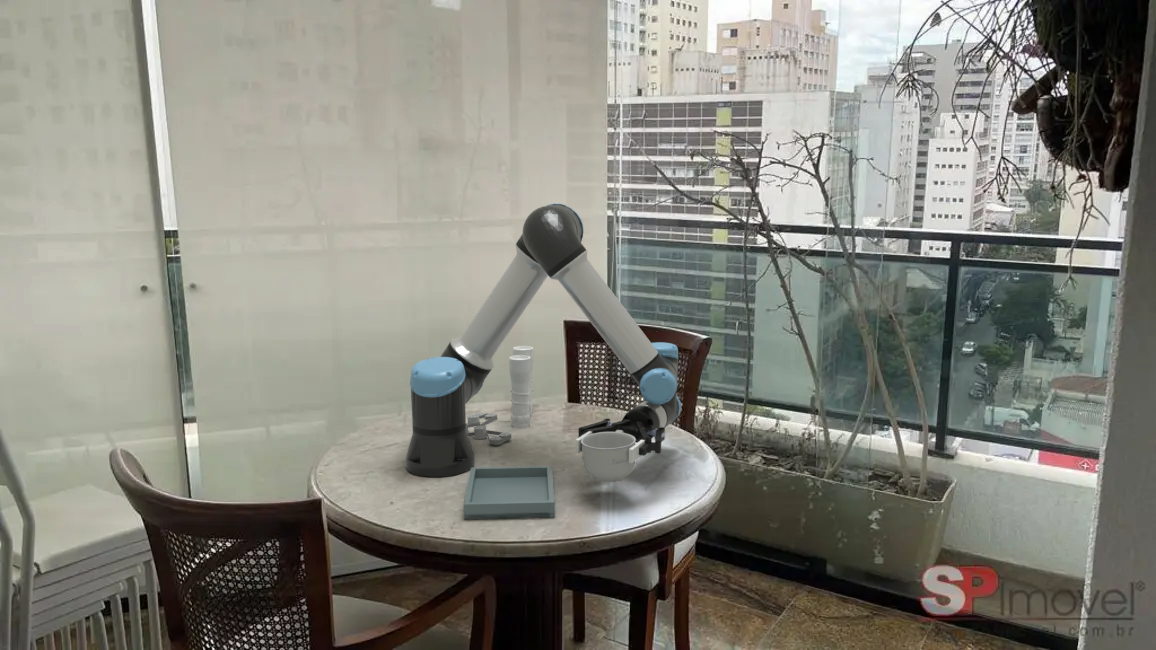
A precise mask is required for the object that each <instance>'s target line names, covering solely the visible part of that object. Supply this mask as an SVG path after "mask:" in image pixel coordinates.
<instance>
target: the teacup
mask: <svg viewBox="0 0 1156 650" xmlns="http://www.w3.org/2000/svg"><path fill="white" fill-rule="evenodd" d="M581 444H582V451H581V454H582V455H581V456H582V457H581V458H582V464H583V468H584V470H585V472H586V474H587V475H589V476H590V477H592V479H594V480H596V481H597V482H598V481H599V482H605V483H606V482H607V483H612V482H613V483H614V482H619V481H622V480H624V479H626V478H627V477H628V476H629V475H630V474H631V473H632V472H633V471H634V469H635V467H636V466H635V465H636V460H635V461H634V462H633V463H629V449H630V448H631V447H632V446H634V445H635V444H636V439H635V437H634V436H632V435H630V434H626V433H624V432H623V431H622V430H617V431H615V432H599V433H593V434H590V435H587V436H585V437H583V438H582V439H581Z"/></svg>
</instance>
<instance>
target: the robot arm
mask: <svg viewBox="0 0 1156 650" xmlns="http://www.w3.org/2000/svg"><path fill="white" fill-rule="evenodd" d="M583 237H584V224H583V221H582V218H581V217H580V215H579V214H578V212H577V211H576V210H574V209H573V208H572V207H570V206H567V204H562V203H550V204H547V205H543V206H540V207H538V208H536V209H534V210H533V211H532V212H531V213H529V215H528V216H527V217H526V219H525V220H524V223H523V226H522V234H521V235H520V236H519V238H518V239H517V241H516V243H515V249H516V255H515V257H514V258H513V259H512V261H511V262H510V264H509V266H508V267H507V268H506V270H505V271H504V273H503V274H502V276H501V277H500V279H499V281H498V282H497V283H496V285H495V286H494V288H493V289H492V290H491V292H490V294H489V296H487V298H486V300H485V301H484V303H483V304H482V305H481V307H480V309H479V310H478V312H477V313H476V315H475V316H474V317H473V319H472V320H471V322H470V323H469V324H468V326H467V328H466V330H465V331H464V332H463V334H462V335H461V337H454V338H452V339H451V340H450V342H449V343H448V345H447V346H446V347H445V349H444V351H443V352H442V354H441V355H440V356H436V357H430V358H427V359H422V360H420V361H418V362H416V364H414V365H413V367H412V368H411V371H410V379H409V381H410V382H409V385H410V396H411V397H410V399H411V420H412V421H411V423H412V435H411V437H410V438H411V439H410V441H409V444H408V445H409V446H408V448H407V452H406V455H405V468H406V470H407V472H409V473H411V474H413V475H417V476H421V477H429V478H431V477H433V478H434V477H435V478H436V477H437V478H438V477H441V478H442V477H449V476H451V477H452V476H455V475H458V474H459V475H460V474H463V473H465V472H467V471H469V470H471V468H472V467H474V466H475V464H476V463H475V461H476V460H475V451H474V449H473V446H472V444H471V441H470V438H469V436H468V435H467V432H466V424H467V421H466V418H467V416H466V404H467V403H468V402H469V401H470V400H471V399H472V398H473V397H474V396H475V395H477V394H478V393H479V391H480V390H481V389H482V387H483V385H484V383H485V380H486V379H487V377H488V376H489V374H490V372H491V371H492V369H493V368H494V362H493V361H494V360H493V356H495V354H496V352H497V351H498V350H499V348H500V347H501V345H502V343H503V342H504V341H505V339H506V337H507V336H508V334H510V332H511V331H512V329H513V327H514V326H515V325H516V323H517V322H518V320H519V319H520V317H521V316H522V314H523V313H524V312H525V310H526V309H527V307H528V306H529V304H530V303H531V301H532V300H533V298H534V297H535V295H536V294H537V293H538V291H539V290H540V288H541V287H542V286H543V283H544V282H545V280H546V279H547V277H549V278H550V279H551V280H556V281H558V282H559V283H560V285H561V286H562V287H563V288H564V289H565V291H566V293H568V295H569V296H570V297H571V298H572V300H573V302H574V303H575V304H576V306H577V307H579V309H580V310H581V312H582V313H583V314H584V315H585V317H586V318H587V319H588V321H589V322H590V324H591V325H592V326H593V327H594V329H595V330H596V331H597V333H598V334H599V335H600V336H601V338H602V339H603V340H604V342H605V343H606V344H607V345H608V347H609V348H610V349H611V351H612V352H613V353H614V355H615V356H616V357H617V358H618V360H619V362H621V363H622V365H623V366H624V367H625V369H626V370H627V371H628V373H629V374H630V375H631V376H632V379H634V381H635V383H637V385H638V386H639V390H640V393H641V396H642V398H643V399H642V402H641V403H639V404H638V405H635V407H634V408H632V409H630V410H629V411H627V412H626V413H625V414H624V416H623V418H622V420H619V421H617V422H611V419H610V418H604V419H603V420H601V421H598V422H594V423H592V424H591V423H590V424H588V425H584V426H581V427H579V428H578V431H577V432H578V437H577V438H576V439H575V440H574V453H575V454H580V453H582V444H581V439H582V438H583V437H585V436H587V435H590V434H593V433H599V432H615V431H617V430H622V431H623V432H624V433H626V434H630V435H632V436H634V437H635V439H636V442H635V445H634V446H632V447H631V448H630V449H629V463H633V462H634V461H635V462H636V461H637V460H638V459H640V457H641V456H646V455H647V454H651V453H652V452H654V453H655V454H659V455H660V454H661V453H662V442H663V441H665V438H666V437H665V436H666V434H665V433H666V428H667V427H668V426H670V425H671V424H673V423H674V422H675V421H676V419H677V418H678V417H679V415H680V413H681V412H682V411H681V410H682V402H681V400H680V397H679V396H678V395H677V389H678V371H679V370H678V367H679V365H678V364H679V348H678V346H677V345H676V344H674V343H672V342H671V343H670V342H662V341H661V342H651V341H650V340H649V338H648V337H647V335H646V334H645V333H644V331H643V330H642V329H641V328H640V326H639V325H638V324H637V323H636V321H635V320H634V318H633V317H632V316H631V315H630V313H629V312H628V310H627V309H626V308H625V307H624V306H623V304H622V303H621V302H620V300H619V299H618V297H617V296H616V295H615V294H614V292H613V291H612V290H611V289H610V287H609V285H608V284H607V282H606V281H605V280H604V279H603V277H601V275H600V274H599V272H598V271H597V270H596V268H595V266H593V265H592V263H591V262H590V261H589V260H588V250H587V249H586V247H585V246H584V244H583V243H582V241H583ZM653 438H654V442H653Z"/></svg>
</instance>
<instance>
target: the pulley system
mask: <svg viewBox="0 0 1156 650" xmlns="http://www.w3.org/2000/svg"><path fill="white" fill-rule="evenodd" d="M466 418H467V423H466V432H467V435H468V437H474V439H475V440H484V439H486V438H487V439H488V442H489V445H493V446H494V447H496V446H499V445H501V444H502V443H504V442H507V441H510V440H511V439H512V433H511V432H509V431H508V432H504V431H496V430H495V431H494V430H488V429H487V425H489V424H490V423H492V422H494V421H496V420H498V414H497V413H495V412H493V413H486V412H477V413H476V412H475V414H469V415H467V416H466ZM480 419H485V420H486V421H484V422H482V423H481V421H480ZM469 428H473V432H472V431H471V432H470V431H469ZM489 435H494V436H491V437H489Z"/></svg>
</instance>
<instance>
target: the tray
mask: <svg viewBox="0 0 1156 650" xmlns="http://www.w3.org/2000/svg"><path fill="white" fill-rule="evenodd" d="M552 468H553V467H552V465H530V466H527V465H526V466H525V465H524V466H486V467H485V466H482V467H481V466H480V467H478V466H477V467H474V466H473V467H472V468H471V469H470V471H469V477H468V481H467V486H466V492H465V498H464V502H463V503H464V504H463V514H464V518H463V519H464V520H467V521H468V520H499V519H500V520H501V519H502V520H505V519H506V518H509V519H534V518H535V519H536V518H537V519H539V518H540V519H541V518H542V519H543V518H547V519H548V518H549V519H550V518H555V516H556V515H555V513H556V511H555V510H556V509H555V505H556V503H555V490H554V479H553V469H552Z"/></svg>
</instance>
